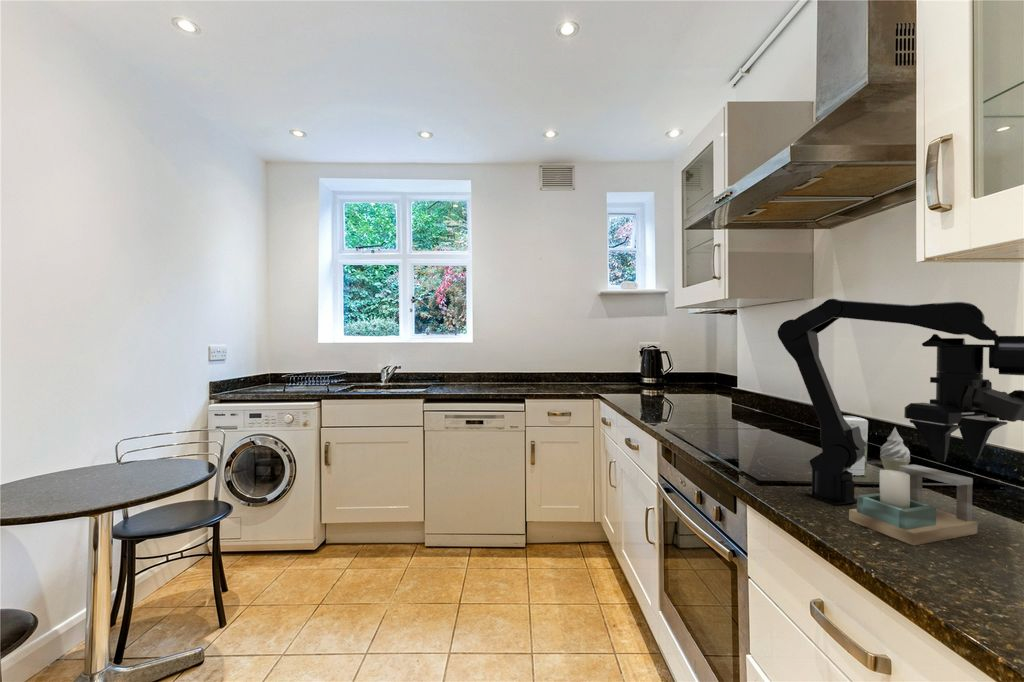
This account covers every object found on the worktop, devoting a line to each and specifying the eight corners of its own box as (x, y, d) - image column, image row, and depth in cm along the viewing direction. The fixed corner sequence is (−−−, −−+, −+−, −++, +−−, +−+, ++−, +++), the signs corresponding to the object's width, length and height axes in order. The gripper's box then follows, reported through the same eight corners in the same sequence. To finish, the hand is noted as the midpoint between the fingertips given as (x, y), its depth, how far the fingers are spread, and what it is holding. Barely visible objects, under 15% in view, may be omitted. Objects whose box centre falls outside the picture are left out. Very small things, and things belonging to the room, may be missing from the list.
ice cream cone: (906, 494, 93) (907, 426, 93) (912, 501, 88) (913, 430, 88) (877, 489, 95) (878, 423, 95) (881, 496, 91) (882, 427, 91)
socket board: (849, 520, 78) (849, 469, 78) (909, 511, 83) (909, 463, 83) (913, 545, 69) (914, 487, 69) (977, 533, 73) (978, 479, 73)
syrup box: (847, 469, 110) (848, 414, 110) (867, 477, 104) (868, 419, 104) (826, 469, 110) (827, 414, 110) (845, 477, 104) (846, 418, 104)
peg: (874, 515, 76) (874, 470, 76) (889, 512, 77) (888, 468, 77) (900, 523, 72) (900, 477, 72) (915, 521, 73) (915, 475, 73)
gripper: (988, 377, 65) (986, 478, 65) (1058, 376, 70) (1057, 469, 70) (902, 371, 75) (901, 458, 75) (969, 371, 81) (968, 452, 81)
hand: (957, 459), depth 75 cm, fingers open, 9 cm apart
